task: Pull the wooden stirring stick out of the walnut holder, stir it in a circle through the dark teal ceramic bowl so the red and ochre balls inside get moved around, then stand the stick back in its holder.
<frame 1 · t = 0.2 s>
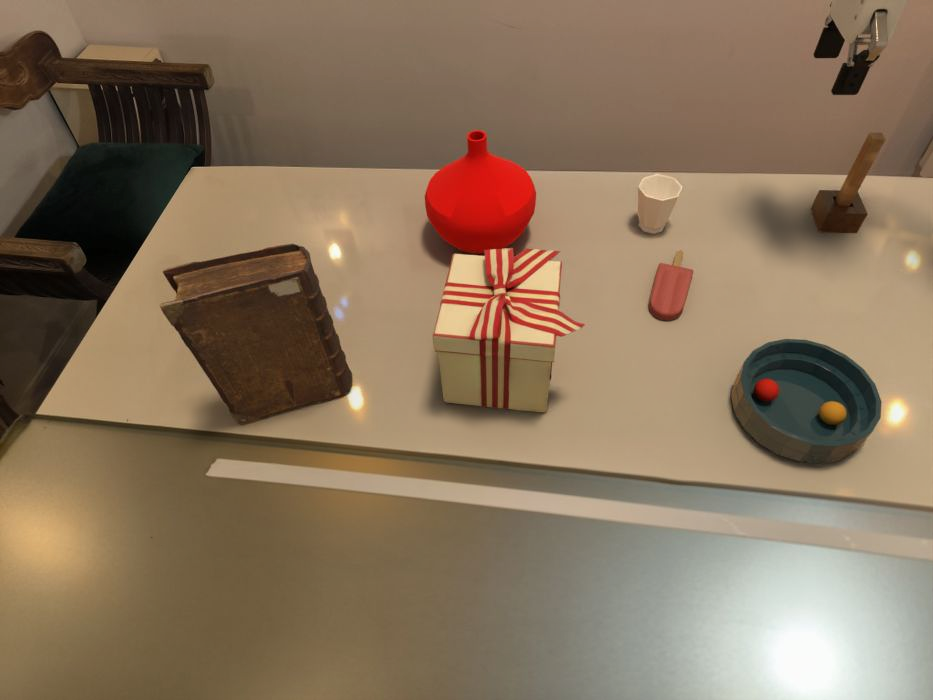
hand: (834, 74, 82), 26 cm above the table, tool pointing down, fingers open, 9 cm apart
stick: (853, 181, 96), in the holder
popsicle: (670, 287, 95), on the table
holder: (833, 220, 102), on the table
red ball: (766, 390, 80), point 2 cm above the table, touching bowl
gift box: (510, 364, 88), on the table
cup: (650, 220, 105), on the table
vase: (482, 234, 106), on the table
book: (297, 397, 87), on the table
ochre ball: (832, 413, 77), point 2 cm above the table, touching bowl
bowl: (795, 410, 80), on the table
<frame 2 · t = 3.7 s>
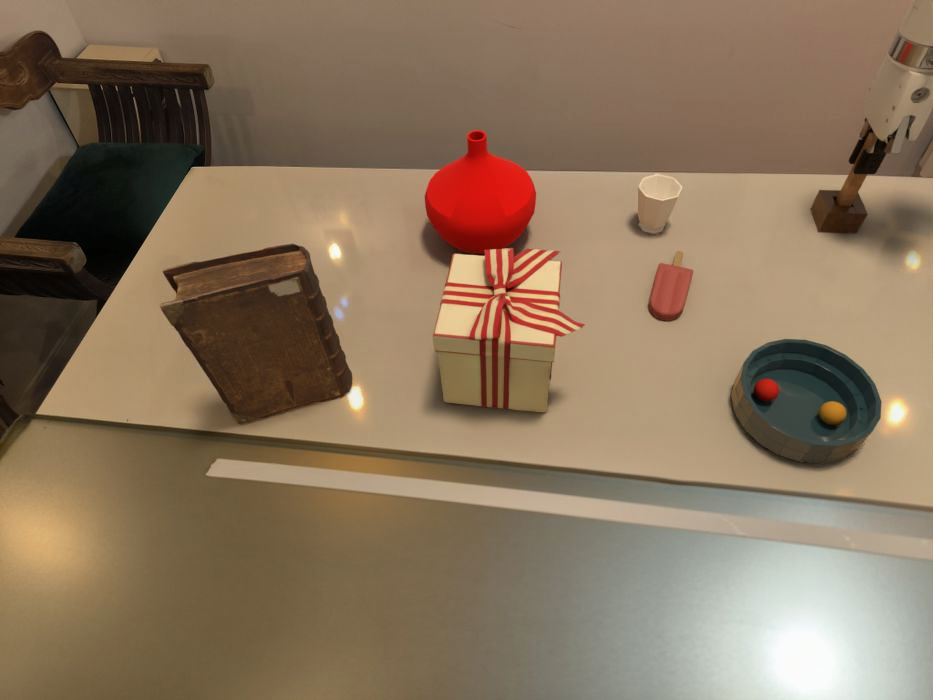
hand: (861, 167, 94), 11 cm above the table, tool pointing down, fingers closed on stick, 1 cm apart
stick: (854, 181, 96), in the holder, touching gripper
everything else where it was.
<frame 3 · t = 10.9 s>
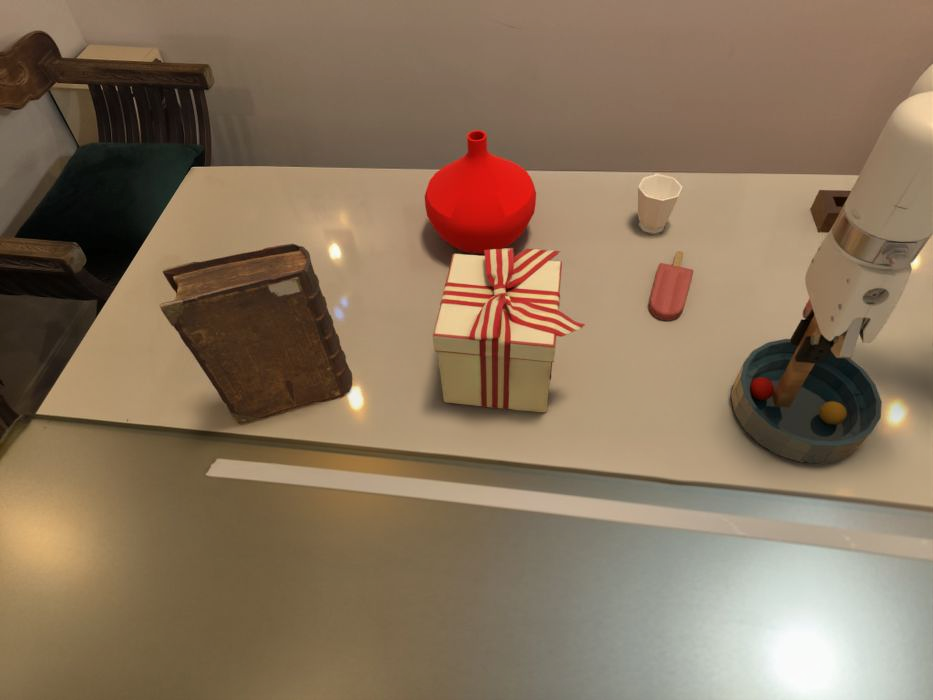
hand: (806, 351, 71), 12 cm above the table, tool pointing down, fingers closed on stick, 1 cm apart
stick: (801, 364, 73), point 10 cm above the table, touching gripper, red ball
red ball: (761, 388, 80), point 2 cm above the table, tilted 21°, touching bowl, stick
everything else where it was.
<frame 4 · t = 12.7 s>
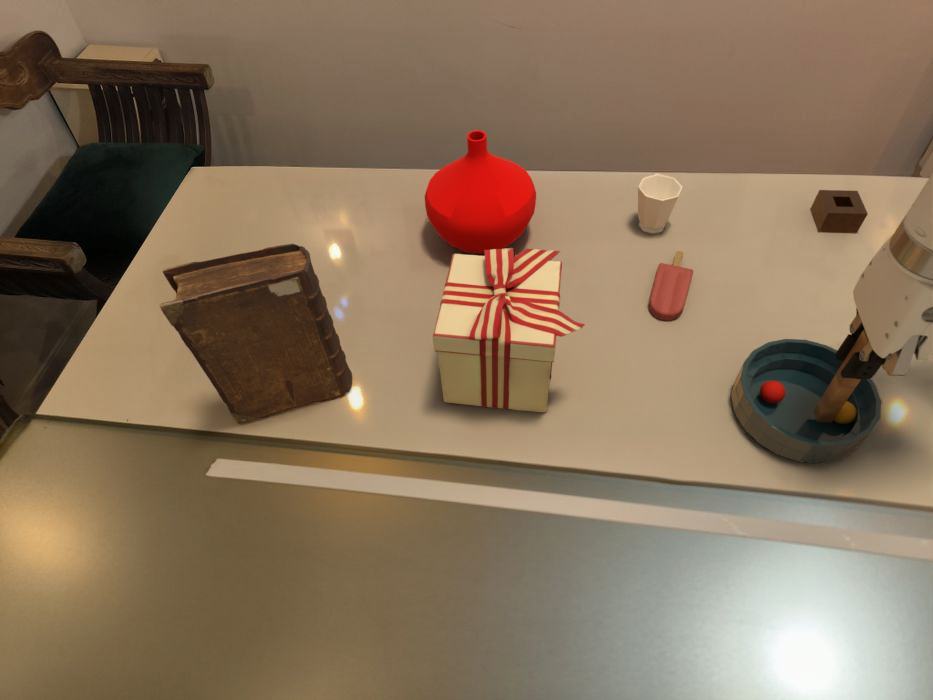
hand: (852, 366, 69), 12 cm above the table, tool pointing down, fingers closed on stick, 1 cm apart
stick: (846, 379, 71), point 10 cm above the table, touching gripper, ochre ball
red ball: (772, 392, 80), point 2 cm above the table, tilted 31°, touching bowl
ochre ball: (842, 412, 77), point 2 cm above the table, tilted 46°, touching bowl, stick
everything else where it was.
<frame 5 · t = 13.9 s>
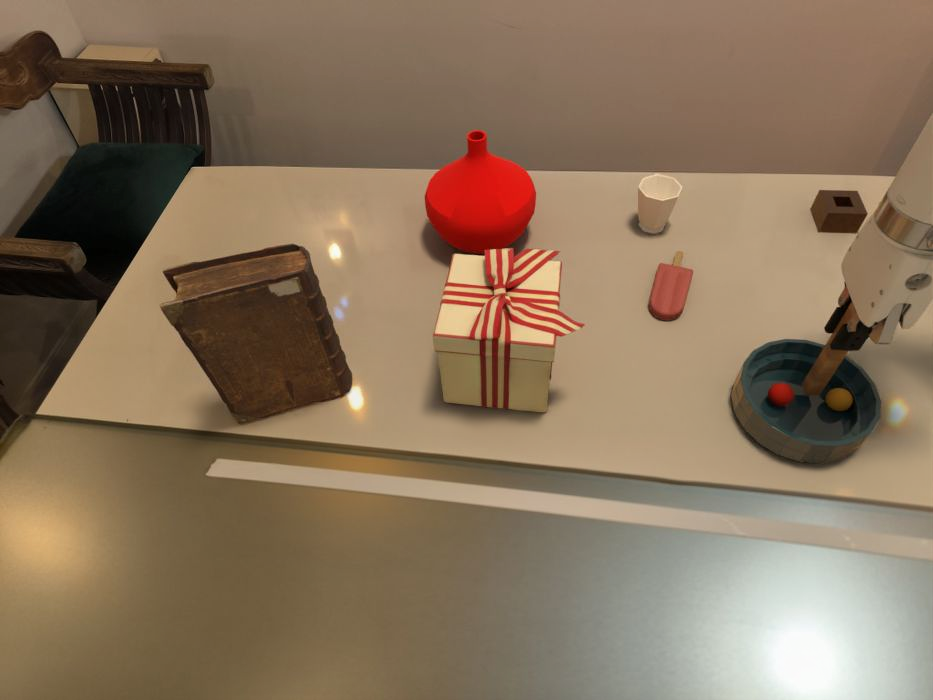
hand: (841, 339, 72), 12 cm above the table, tool pointing down, fingers closed on stick, 1 cm apart
stick: (834, 352, 74), point 10 cm above the table, touching gripper
red ball: (780, 394, 79), point 2 cm above the table, tilted 70°, touching bowl
ochre ball: (839, 399, 78), point 2 cm above the table, tilted 35°, touching bowl
everything else where it was.
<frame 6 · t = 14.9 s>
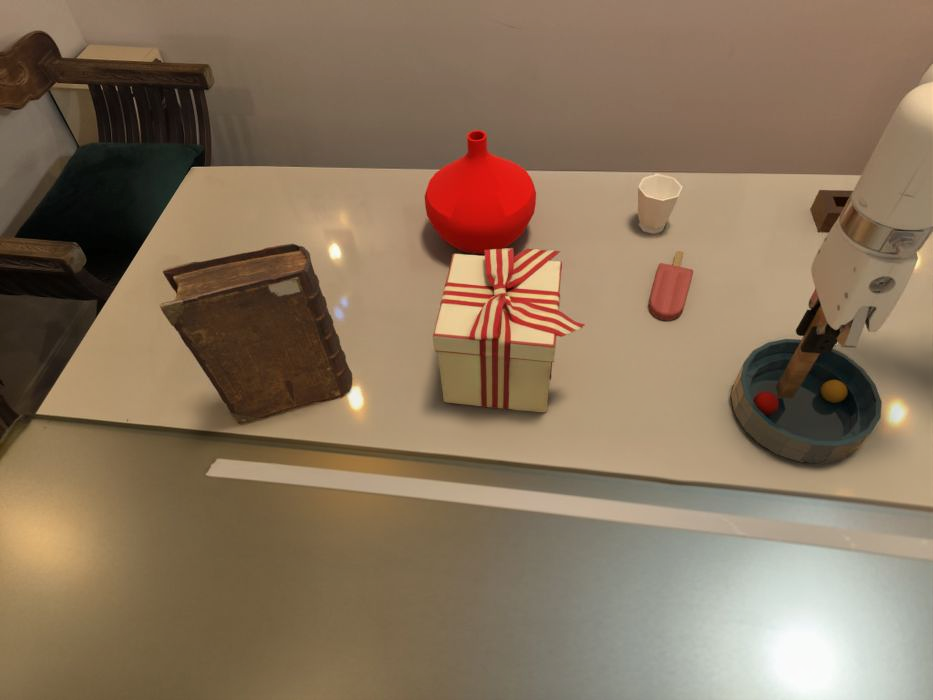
hand: (812, 341, 72), 12 cm above the table, tool pointing down, fingers closed on stick, 1 cm apart
stick: (805, 354, 74), point 10 cm above the table, touching gripper
red ball: (765, 403, 79), point 2 cm above the table, tilted 53°, touching bowl
ochre ball: (834, 391, 79), point 2 cm above the table, tilted 26°, touching bowl
everything else where it was.
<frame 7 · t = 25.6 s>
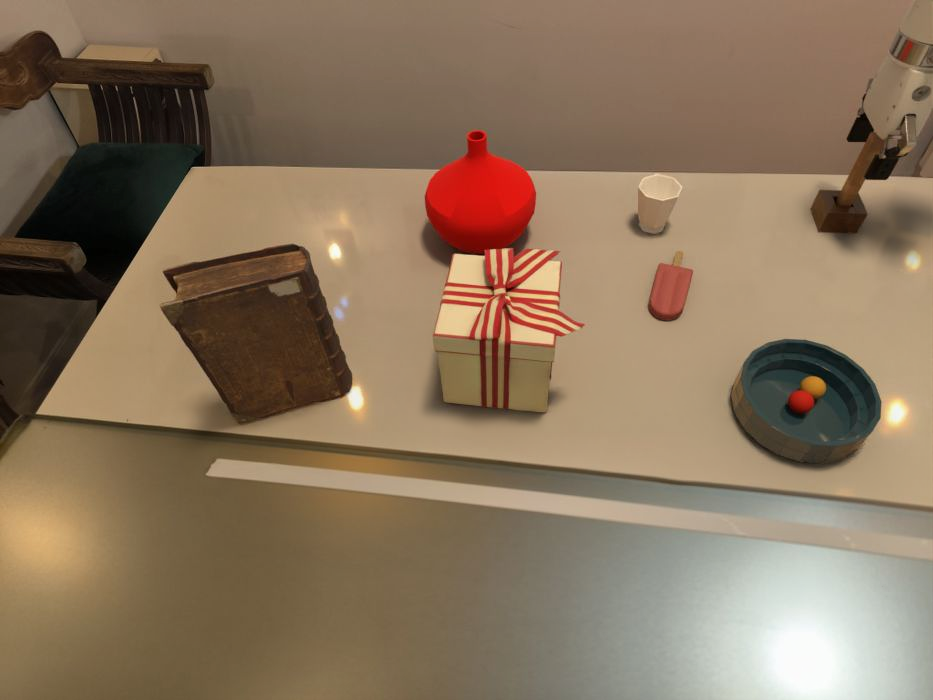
hand: (865, 159, 93), 12 cm above the table, tool pointing down, fingers open, 9 cm apart
stick: (855, 180, 96), in the holder
red ball: (800, 401, 79), point 2 cm above the table, tilted 113°, touching bowl
ochre ball: (812, 387, 80), point 2 cm above the table, tilted 88°, touching bowl
everything else where it was.
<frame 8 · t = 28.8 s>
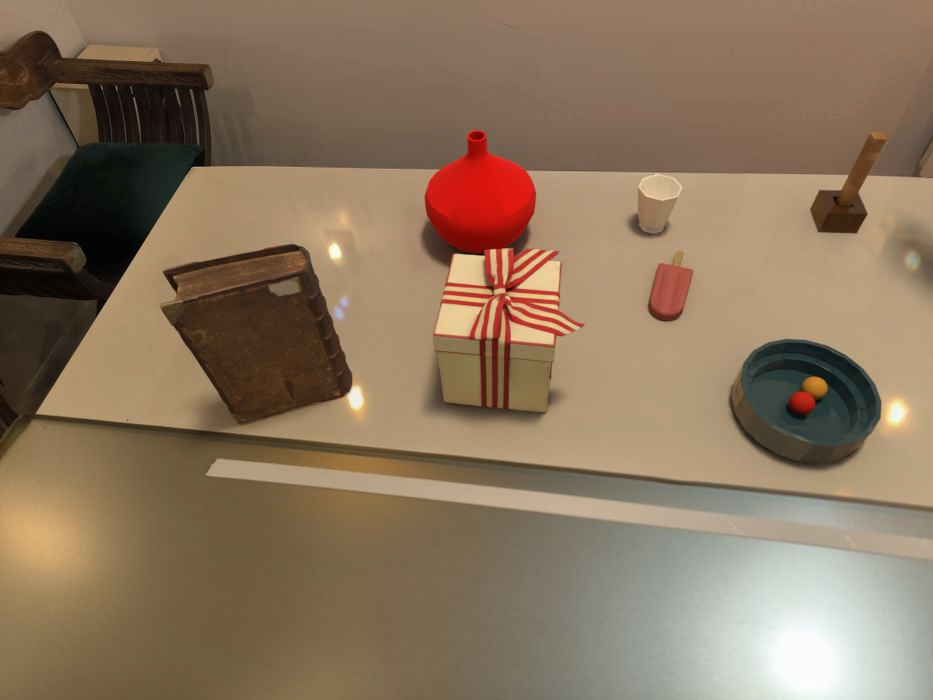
red ball: (801, 403, 78), point 2 cm above the table, tilted 120°, touching bowl
ochre ball: (814, 388, 80), point 2 cm above the table, tilted 81°, touching bowl
everything else where it was.
at the end: red ball moved 4.4 cm from its start; red ball inside the target area in the bowl (0.3 cm from its centre), point 2.1 cm above the bowl's base; stick 0.2 cm off-centre in the holder, point 8.0 cm above the holder's base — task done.
